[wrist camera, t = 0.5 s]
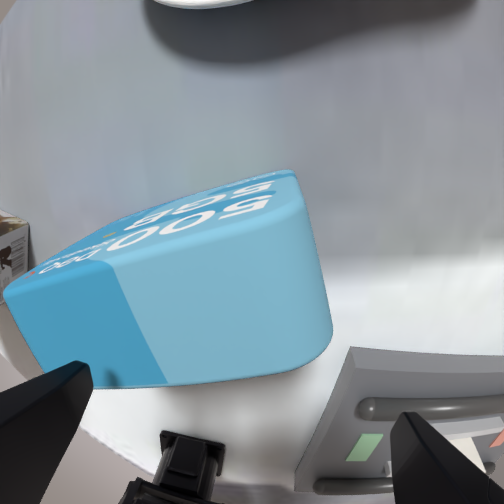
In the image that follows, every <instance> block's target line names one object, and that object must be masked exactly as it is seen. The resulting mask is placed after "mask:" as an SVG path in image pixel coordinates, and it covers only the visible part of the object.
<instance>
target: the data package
mask: <svg viewBox="0 0 504 504" xmlns="http://www.w3.org/2000/svg"><path fill="white" fill-rule="evenodd" d="M3 297H4V299H5V302H6V304H7V306H8V308H9V310H10V312H11V314H12V316H13V318H14V320H15V322H16V324H17V326H18V328H19V330H20V332H21V333H22V335H23V337H24V339H25V341H26V342H27V344H28V346H29V348H30V350H31V351H32V353H33V355H34V356H35V358H36V360H37V361H38V363H39V365H40V366H41V368H42V369H43V371H44V373H47V372H50V371H52V370H54V369H56V368H59V367H61V366H63V365H66V364H68V363H70V362H72V361H75V360H79V361H81V362H84V363H87V364H88V365H89V366H90V370H91V375H92V379H93V385H94V387H93V389H135V388H155V387H170V386H183V385H194V384H204V383H214V382H222V381H230V380H238V379H245V378H252V377H259V376H266V375H272V374H278V373H283V372H288V371H291V370H294V369H297V368H299V367H302V366H304V365H306V364H308V363H309V362H311V361H313V360H314V359H315V358H317V357H318V356H319V355H320V354H321V353H322V352H323V351H324V350H325V349H326V348H327V346H328V345H329V343H330V341H331V338H332V335H333V324H332V319H331V314H330V309H329V304H328V299H327V294H326V289H325V285H324V280H323V275H322V271H321V266H320V262H319V257H318V253H317V248H316V244H315V240H314V236H313V231H312V227H311V223H310V219H309V215H308V211H307V207H306V203H305V200H304V197H303V195H302V192H301V189H300V186H299V183H298V181H297V178H296V175H295V173H294V171H292V170H280V171H275V172H271V173H267V174H263V175H259V176H256V177H252V178H248V179H245V180H241V181H237V182H234V183H230V184H227V185H223V186H220V187H217V188H213V189H210V190H206V191H203V192H200V193H197V194H193V195H190V196H187V197H184V198H180V199H177V200H174V201H171V202H168V203H165V204H162V205H159V206H156V207H153V208H150V209H147V210H144V211H141V212H138V213H135V214H132V215H129V216H127V217H124V218H122V219H119V220H117V221H115V222H113V223H110V224H109V225H107V226H105V227H103V228H101V229H99V230H98V231H96V232H94V233H92V234H90V235H89V236H87V237H85V238H83V239H82V240H80V241H78V242H76V243H75V244H73V245H71V246H69V247H68V248H66V249H64V250H63V251H61V252H59V253H58V254H56V255H54V256H53V257H51V258H49V259H48V260H46V261H44V262H43V263H41V264H40V265H38V266H36V267H35V268H33V269H32V270H30V271H28V272H27V273H25V274H24V275H22V276H21V277H19V278H18V279H16V280H15V281H13V282H12V283H10V284H9V285H8V286H7V287H6V288H5V289H4V292H3Z"/></svg>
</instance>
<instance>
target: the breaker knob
mask: <svg viewBox="0 0 504 504" xmlns="http://www.w3.org/2000/svg"><path fill="white" fill-rule="evenodd" d="M448 441H449V442H450V443H452V444H453V445H454V446H455V447H456V448H457V449H458V450H459V451H461V452H462V453H463V454H464V455H465V456H466V457H467V458H468V459H469V460H471V461H472V462H473V463H474V464H475V465H476V466H477V467H478V468H480V469H481V470H482V471H483V472H484V473H486V470H485V468H484V466H483V463H482V461H481V459H480V456H479V454H478V452H477V449H476V447H475V445H474V443H473V440H472V438H471V437H468V438H461V439H453V440H448Z"/></svg>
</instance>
